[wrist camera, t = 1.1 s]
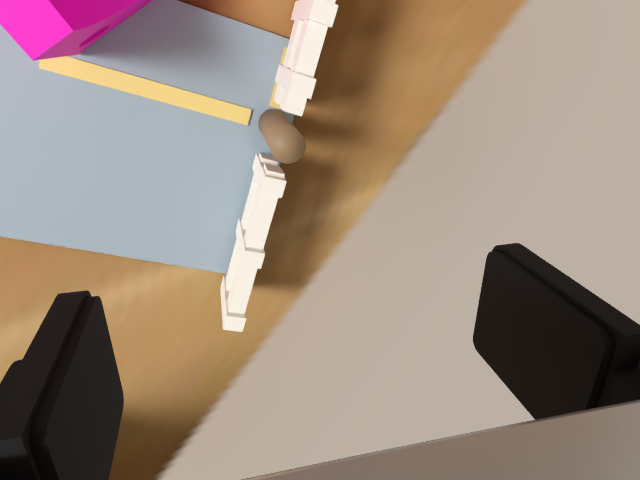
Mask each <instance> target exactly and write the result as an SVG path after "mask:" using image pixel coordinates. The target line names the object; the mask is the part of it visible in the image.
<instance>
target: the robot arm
mask: <svg viewBox="0 0 640 480" xmlns="http://www.w3.org/2000/svg"><path fill="white" fill-rule="evenodd" d="M473 343H474V346H475V348H476V350H477V352H478V353H479V354H480V355H481V356H482V358H483V359H484V360H485V361H486V362H487V364H488V365H489V366H490V367H491V368H492V369H493V371H494V372H495V373H496V374H497V375H498V376H499V378H500V379H501V380H502V381H503V382H504V383H505V385H506V386H507V387H508V388H509V389H510V391H511V392H512V393H513V394H514V395H515V396H516V398H517V399H518V400H519V401H520V402H521V403H522V405H523V406H524V407H525V408H526V409H527V411H528V412H529V413H530V414H531V415H532V416H533V418H534V419H535V420H533V421H527V422H522V423H517V424H512V425H506V426H502V427H496V428H491V429H486V430H481V431H476V432H471V433H467V434H461V435H456V436H451V437H446V438H442V439H437V440H431V441H427V442H422V443H417V444H412V445H407V446H402V447H397V448H392V449H388V450H382V451H377V452H372V453H367V454H363V455H358V456H353V457H348V458H343V459H338V460H334V461H329V462H324V463H319V464H315V465H310V466H305V467H300V468H295V469H290V470H286V471H281V472H276V473H271V474H266V475H262V476H257V477H252V478H247V479H242V480H640V325H639V324H637V323H636V322H635V321H633V320H631V319H630V318H628V317H627V316H626V315H624V314H623V313H621V312H620V311H618V310H617V309H615V308H614V307H612V306H611V305H610V304H608V303H607V302H605V301H604V300H602V299H600V298H599V297H598V296H596V295H595V294H593V293H592V292H590V291H589V290H588V289H585V287H583V286H581V285H580V284H579V283H577V282H576V281H574V280H573V279H571V278H570V277H568V276H567V275H565V274H564V273H562V272H561V271H560V270H558V269H557V268H555V267H553V266H552V265H551V264H549V263H548V262H546V261H545V260H543V259H542V258H540V257H539V256H537V255H536V254H535V253H533V252H531V251H530V250H529V249H527V248H526V247H524V246H523V245H521V244H519V243H514V244H505V245H497V246H495V247H494V249H493V250H492V252H489V253H488V255H487V258H486V264H485V270H484V276H483V282H482V287H481V293H480V299H479V305H478V311H477V317H476V322H475V328H474V334H473ZM123 403H124V399H123V390H122V386H121V382H120V377H119V373H118V369H117V365H116V360H115V356H114V352H113V348H112V343H111V339H110V335H109V331H108V327H107V322H106V318H105V314H104V310H103V305H102V302H101V299H100V297H99V296H94V297H91V294H90V292H89V291H79V292H70V293H61V294H58V295H57V296H56V298H55V300H54V302H53V304H52V306H51V307H50V309H49V311H48V313H47V315H46V317H45V319H44V320H43V322H42V324H41V326H40V328H39V330H38V332H37V333H36V335H35V337H34V339H33V341H32V343H31V345H30V346H29V348H28V350H27V352H26V354H25V356H24V358H23V359H22V360H18V361H15V362H13V364H12V365H11V366H10V368H9V369H8V371H7V373H6V375H5V376H4V378H3V380H2V382H1V383H0V480H108V479H109V474H110V469H111V465H112V460H113V455H114V450H115V445H116V440H117V435H118V431H119V426H120V421H121V416H122V411H123Z"/></svg>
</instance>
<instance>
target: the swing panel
mask: <svg viewBox="0 0 640 480" xmlns="http://www.w3.org/2000/svg"><path fill="white" fill-rule="evenodd" d="M252 169H253V172H254V175H253V179H252V183H251V186H250V190H249V194H248V198H247V201H246V205H245V209H244V213H243V216H242V218H239V220H238V223H237V227H236V238H237V239H236V243H235V246H234V250H233V254H232V258H231V261H230V265H229V269H228V273H227V276H223V280H222V284H221V288H220V289H221V305H222V320H223V330H231V331H239V332H242V331H243V328H244V325H245V321H246V313H245V310H246V307H247V303H248V300H249V296H250V293H251V290H252V286H253V283H254V279H255V276H256V272H257V269H261V267H262V264H263V260H264V257H265V251H264V245H265V242H266V238H267V235H268V231H269V228H270V224H271V221H272V218H273V214H274V211H275V207H276V204H277V200H278V198H282V196H283V192H284V189H285V185H286V182H287V181H286V179H285V177H284V176H285V173H284V172H283V170H282V168H281V167H279V166H278V161H277V159H276V158H275V157H274V156H273V155H269V154H265V153H261V152H260V153H259V154H258V153H256V155H255V159H254V163H253V167H252Z"/></svg>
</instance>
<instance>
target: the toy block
mask: <svg viewBox="0 0 640 480" xmlns="http://www.w3.org/2000/svg"><path fill="white" fill-rule="evenodd" d="M151 1H152V0H0V25H1V26H2V27H3V28H4V29H5V30H6V31H7V33H8V34H9V35H10V36H11V37H12V38H13V39H14V40H15V41H16V43H17V44H18V45H19V46H20V47H21V48H22V49H23V50H24V52H25V53H26V54H27V55H28V56H29V57H30V58H31V59H32V60H33V61H34V60H41V59H49V58H56V57H64V56H71V55H78V54H79V53H81V52H82V51H83V50H85V49H86V48H88V47H89V46H90V45H92V44H93V43H94V42H96V41H97V40H99V39H100V38H101V37H103V36H104V35H105V34H107V33H108V32H110V31H111V30H112V29H114V28H115V27H116V26H118V25H119V24H121V23H122V22H123V21H125V20H126V19H127V18H129V17H130V16H132V15H133V14H134V13H136V12H137V11H138V10H140V9H141V8H143V7H144V6H145V5H147V4H148V3H149V2H151Z"/></svg>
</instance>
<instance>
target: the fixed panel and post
mask: <svg viewBox="0 0 640 480" xmlns="http://www.w3.org/2000/svg"><path fill="white" fill-rule="evenodd" d="M335 2H336V0H299V1H295V5H294V9H293V13H292V17H291V20H293V21H294V25H293V29H292V32H291V36H290V40H289V44H288V47H287V51H286V55H285V59H284V62H283V65H280V64H279V66H278V70H277V74H276V77H275V82H276V83H278V85H277V89H276V92H275V96H274V101H275V102H276V103H277V104H280V108H281V109H282V110H283V111H285V112H288V113H292V114H295V115H298V116H302V115H303V111H304V108H305V104H306V101H307V98H308V99H311V97H312V94H313V90H314V87H315V84H316V80H317V79H315V78H313V77H314V74H315V70H316V67H317V63H318V60H319V56H320V53H321V50H322V46H323V43H324V39H325V36H326V32H327V29H328V27H332V26H333V22H334V19H335V16H336V12H337V9H338V6H339V5H336V4H335ZM258 125H259V129H260V131H261V133H262V135H263V137H264V139H265V141H266V142H267V144H268V146H269V148H270V150H271V152H272V154H273V156H274V157H275V158H276V159H277V160H278V161H280V162H282V163H287V164H289V163H294V162H296V161H298V160H299V159H300V158H301V157H302V156H303V154H304V152H305V148H306V143H305V139H304V137H303V136H302V134H301V133H300V132H299V131H298V130H297V129H296V128H295V127H294V125H293V124H292V123H291V122H290V121H289V120H288V119H287V117H286V116H285V115H284V114H283V113H282V112H281V111H279V110H277V109H269V110H266V111H264V112H263V113H262V114H261V116H260V118H259V121H258Z"/></svg>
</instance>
